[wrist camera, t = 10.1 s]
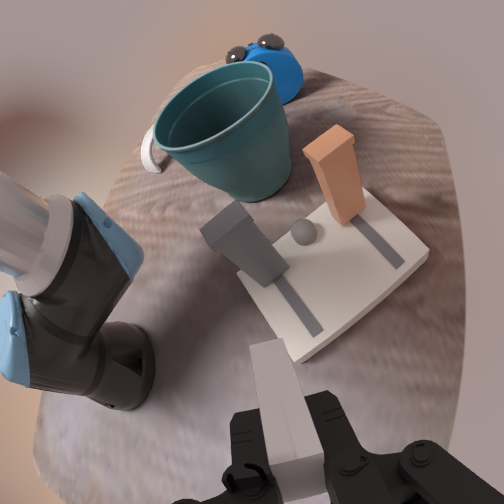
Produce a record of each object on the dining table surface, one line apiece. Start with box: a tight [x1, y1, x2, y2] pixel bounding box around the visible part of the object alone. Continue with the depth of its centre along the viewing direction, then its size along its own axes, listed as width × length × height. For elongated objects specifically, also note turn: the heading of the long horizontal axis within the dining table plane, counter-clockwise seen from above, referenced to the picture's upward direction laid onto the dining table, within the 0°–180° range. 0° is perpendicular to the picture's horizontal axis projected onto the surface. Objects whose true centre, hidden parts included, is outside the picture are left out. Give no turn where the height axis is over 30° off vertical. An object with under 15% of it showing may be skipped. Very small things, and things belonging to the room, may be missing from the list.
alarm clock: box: [226, 34, 303, 105], centre depth 50 cm, size 13×6×15 cm, turn 99°
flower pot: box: [153, 61, 292, 202], centre depth 43 cm, size 18×18×17 cm
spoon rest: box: [141, 125, 162, 173], centre depth 63 cm, size 24×12×7 cm, turn 155°
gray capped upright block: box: [200, 199, 290, 288], centre depth 32 cm, size 2×4×12 cm, turn 122°
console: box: [236, 187, 430, 364], centre depth 35 cm, size 14×20×4 cm
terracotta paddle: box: [302, 124, 366, 227], centre depth 31 cm, size 2×4×12 cm, turn 122°
